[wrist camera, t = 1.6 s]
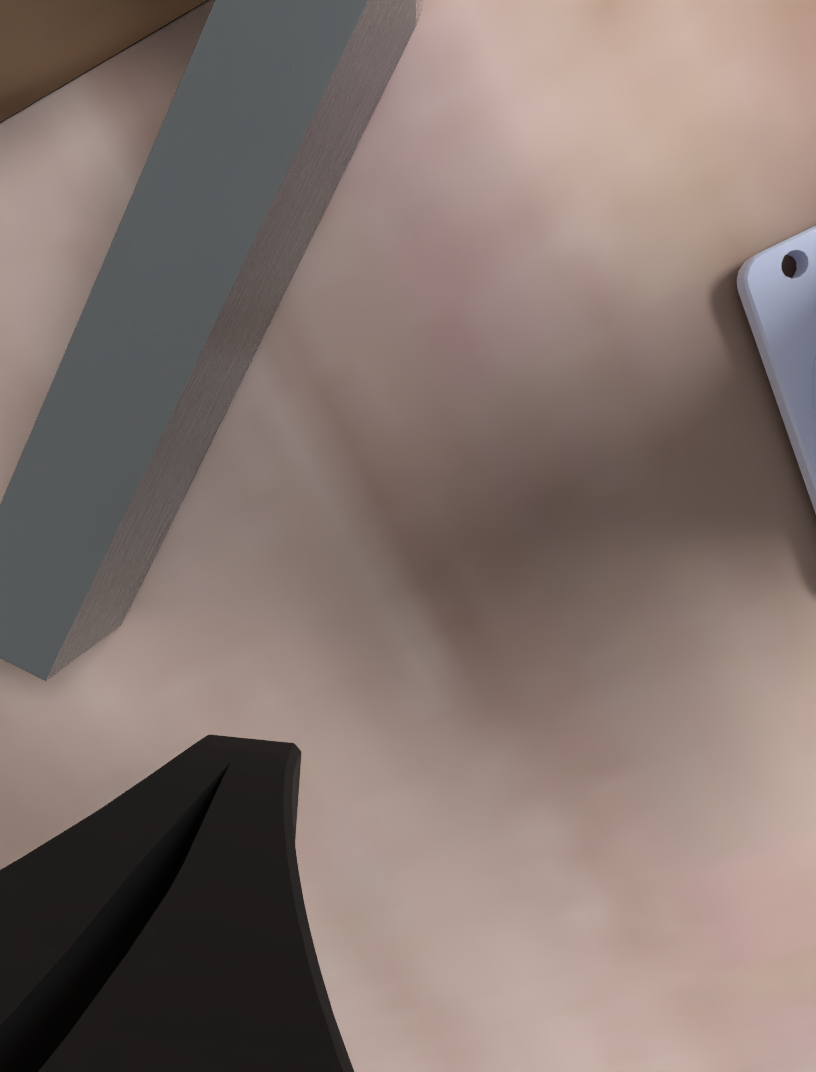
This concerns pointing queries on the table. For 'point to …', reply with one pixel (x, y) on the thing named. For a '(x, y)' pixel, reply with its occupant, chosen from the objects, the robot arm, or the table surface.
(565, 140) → the table surface
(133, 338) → the hinged leg
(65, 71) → the stool seat
